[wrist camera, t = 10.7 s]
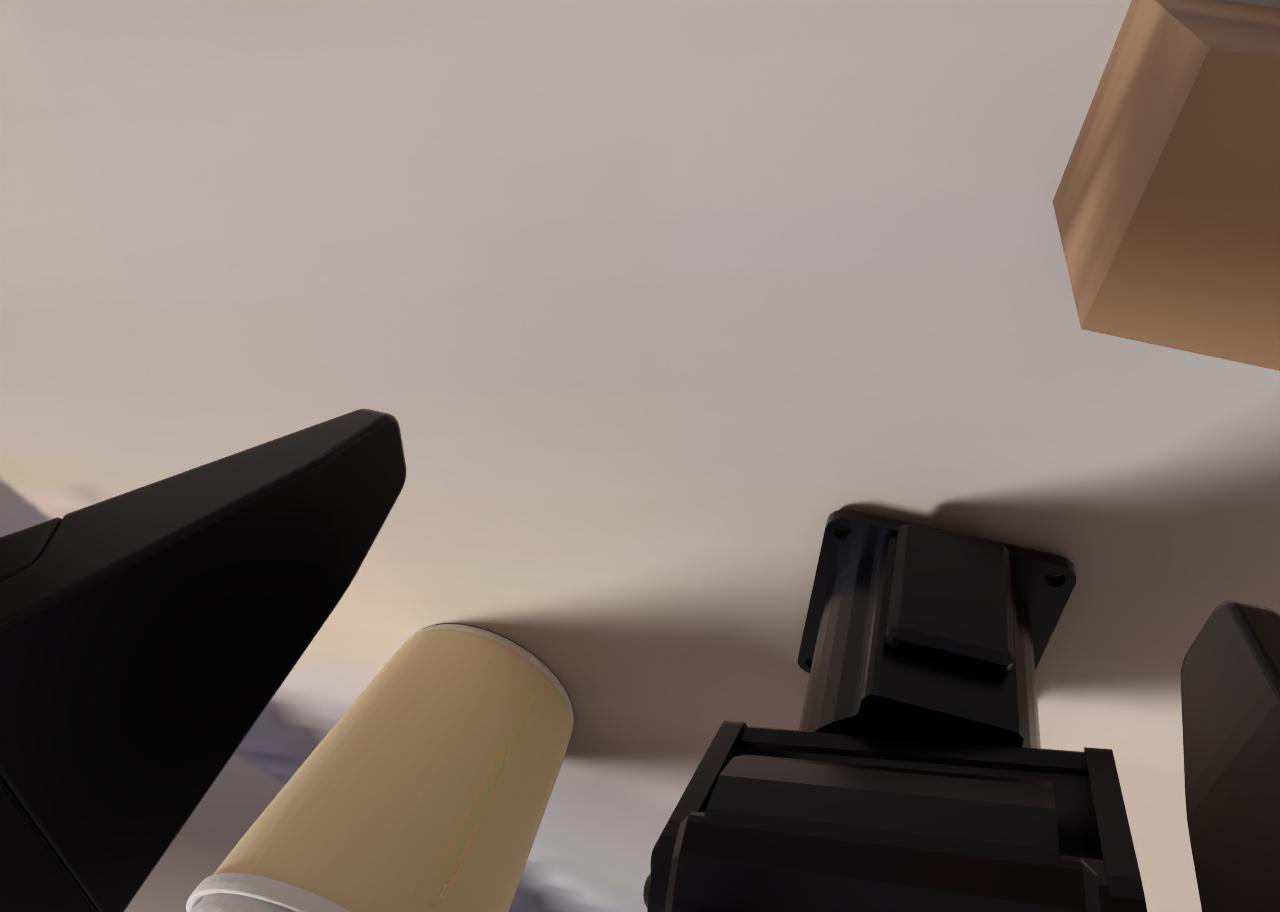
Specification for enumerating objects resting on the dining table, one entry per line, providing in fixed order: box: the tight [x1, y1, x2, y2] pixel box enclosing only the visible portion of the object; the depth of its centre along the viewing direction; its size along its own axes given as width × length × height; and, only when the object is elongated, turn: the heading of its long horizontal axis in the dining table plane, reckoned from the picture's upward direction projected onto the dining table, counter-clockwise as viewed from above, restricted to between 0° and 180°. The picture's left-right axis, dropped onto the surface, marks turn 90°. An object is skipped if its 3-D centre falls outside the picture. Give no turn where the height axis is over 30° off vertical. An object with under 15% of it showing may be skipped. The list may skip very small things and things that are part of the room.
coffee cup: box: [186, 624, 574, 912], centre depth 30 cm, size 9×9×12 cm
